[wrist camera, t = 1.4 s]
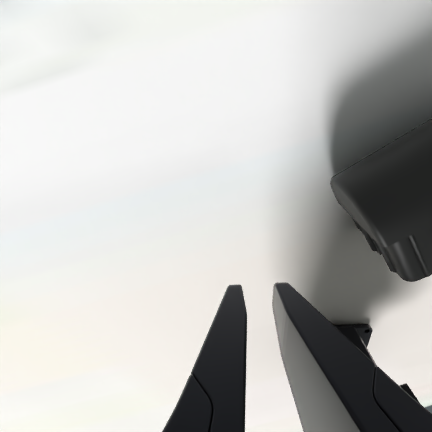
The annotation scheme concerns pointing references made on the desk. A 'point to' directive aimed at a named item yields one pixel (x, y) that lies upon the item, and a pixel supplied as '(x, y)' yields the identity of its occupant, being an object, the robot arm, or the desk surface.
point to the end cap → (394, 201)
